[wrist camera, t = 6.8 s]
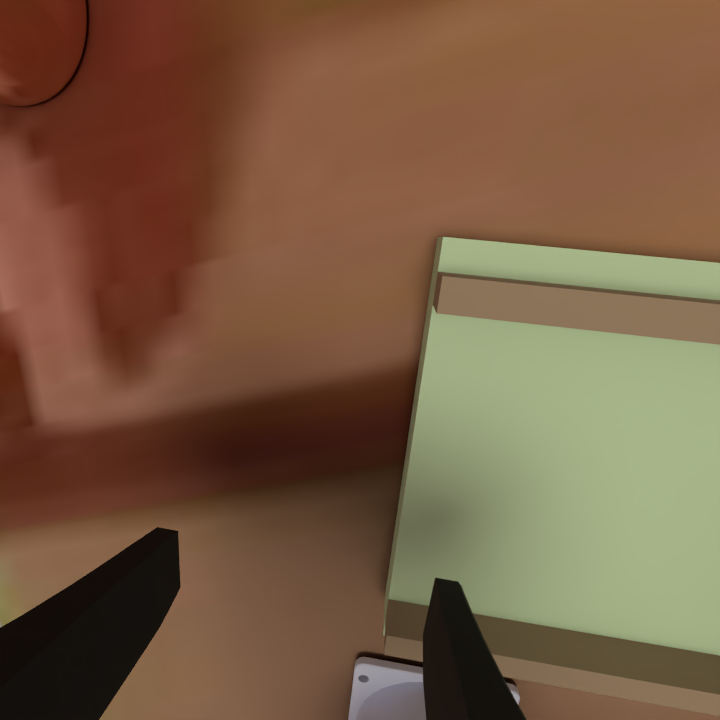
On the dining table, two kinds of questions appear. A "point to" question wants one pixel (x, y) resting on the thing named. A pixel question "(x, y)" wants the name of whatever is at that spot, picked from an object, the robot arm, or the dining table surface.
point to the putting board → (568, 469)
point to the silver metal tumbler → (39, 48)
